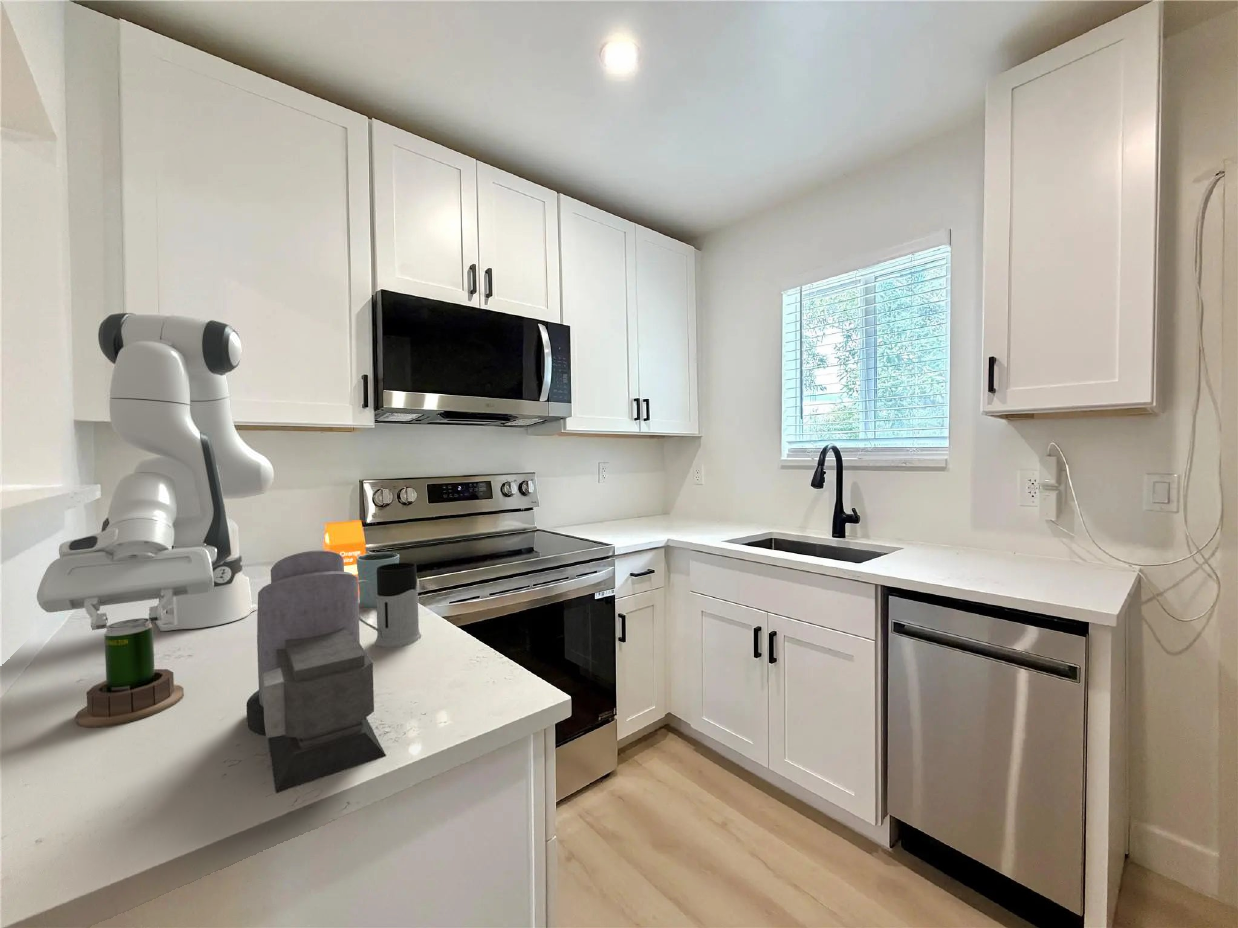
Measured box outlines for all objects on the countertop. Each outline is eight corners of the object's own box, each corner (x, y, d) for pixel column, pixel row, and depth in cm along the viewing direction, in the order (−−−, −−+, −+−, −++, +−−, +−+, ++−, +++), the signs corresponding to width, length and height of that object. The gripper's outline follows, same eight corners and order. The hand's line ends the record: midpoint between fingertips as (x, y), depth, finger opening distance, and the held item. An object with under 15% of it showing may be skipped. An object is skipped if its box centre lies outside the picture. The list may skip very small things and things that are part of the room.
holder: (430, 636, 108) (428, 564, 108) (364, 659, 97) (361, 579, 96) (405, 628, 113) (403, 560, 113) (339, 650, 102) (337, 573, 101)
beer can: (147, 704, 79) (144, 625, 78) (100, 712, 76) (96, 631, 76) (160, 690, 83) (158, 615, 83) (116, 697, 81) (113, 620, 81)
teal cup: (370, 596, 140) (369, 552, 139) (407, 596, 139) (406, 551, 139) (348, 608, 129) (347, 560, 129) (388, 608, 129) (387, 559, 129)
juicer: (245, 700, 81) (240, 544, 81) (358, 673, 91) (354, 533, 90) (252, 802, 57) (244, 581, 57) (404, 750, 67) (399, 561, 66)
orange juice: (367, 594, 142) (365, 521, 141) (330, 600, 136) (328, 524, 136) (359, 588, 148) (357, 518, 147) (324, 594, 142) (322, 521, 142)
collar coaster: (65, 713, 78) (64, 688, 78) (166, 682, 88) (166, 660, 88) (90, 735, 71) (89, 708, 71) (196, 699, 82) (196, 675, 82)
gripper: (218, 553, 94) (216, 620, 86) (55, 568, 82) (35, 648, 75) (216, 531, 90) (213, 599, 82) (45, 544, 79) (23, 625, 71)
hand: (127, 623), depth 78 cm, fingers open, 5 cm apart
